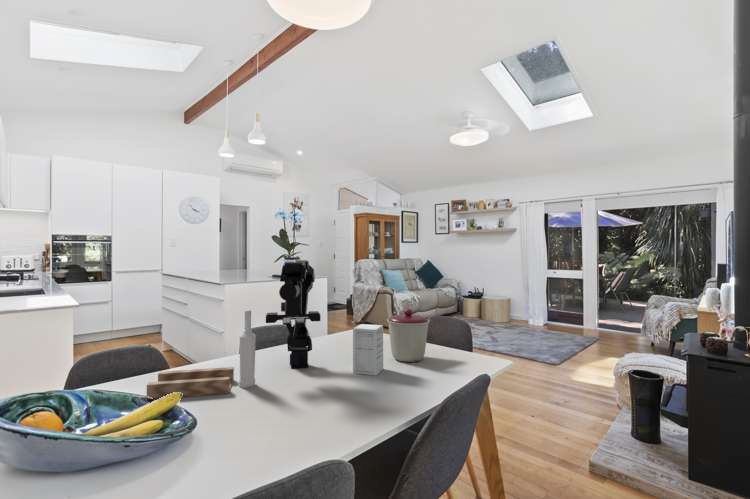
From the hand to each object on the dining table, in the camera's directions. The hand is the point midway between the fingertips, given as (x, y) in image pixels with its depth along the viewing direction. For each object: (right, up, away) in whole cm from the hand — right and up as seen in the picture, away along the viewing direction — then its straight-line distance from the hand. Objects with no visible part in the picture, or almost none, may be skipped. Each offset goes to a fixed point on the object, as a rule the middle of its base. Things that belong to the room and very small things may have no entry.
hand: (293, 341), depth 132 cm
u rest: (-30, -13, -12) cm, 34 cm away
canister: (+43, -14, +25) cm, 52 cm away
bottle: (-14, -13, -8) cm, 20 cm away
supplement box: (+27, -14, +9) cm, 31 cm away
